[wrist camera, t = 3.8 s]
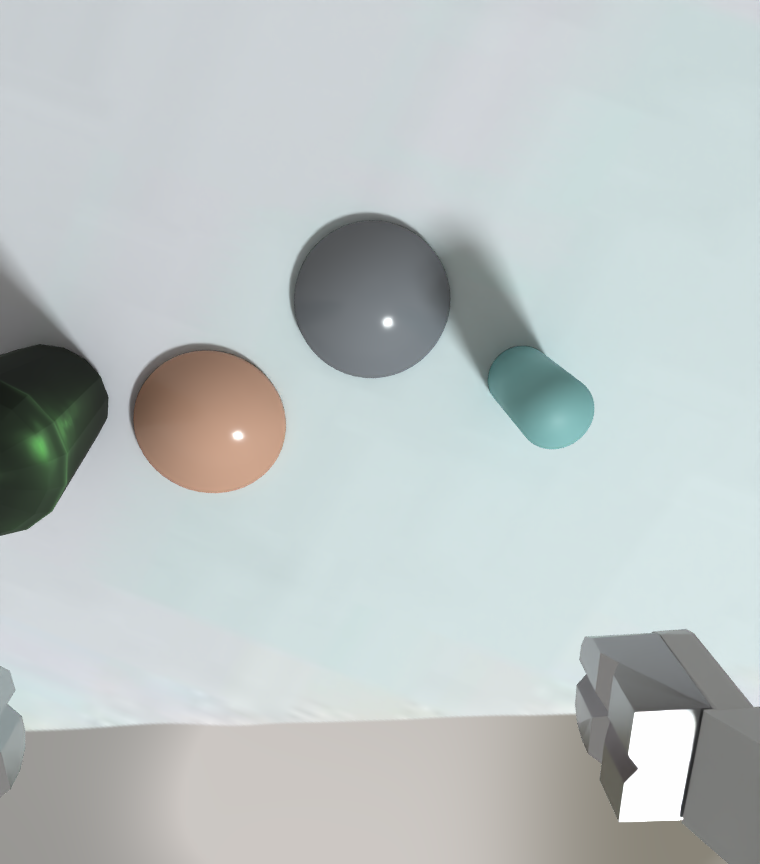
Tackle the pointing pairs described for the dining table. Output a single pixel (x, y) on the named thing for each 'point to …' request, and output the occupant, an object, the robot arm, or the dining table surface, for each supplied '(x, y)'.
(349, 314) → the grey flat disc
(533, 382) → the marker peg
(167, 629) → the dining table surface
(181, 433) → the tan round disc
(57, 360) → the potion bottle
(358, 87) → the dining table surface
